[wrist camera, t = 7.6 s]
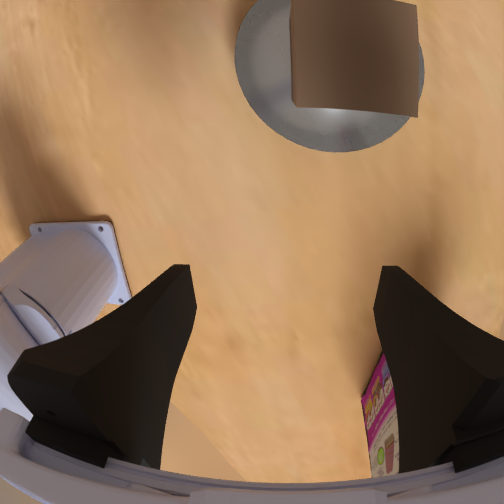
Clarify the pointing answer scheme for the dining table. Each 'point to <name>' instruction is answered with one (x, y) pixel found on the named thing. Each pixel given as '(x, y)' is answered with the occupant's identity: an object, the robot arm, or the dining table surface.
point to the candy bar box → (381, 422)
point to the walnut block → (355, 55)
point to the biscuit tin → (279, 88)
